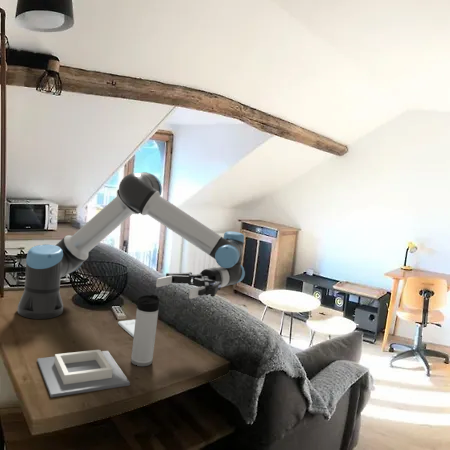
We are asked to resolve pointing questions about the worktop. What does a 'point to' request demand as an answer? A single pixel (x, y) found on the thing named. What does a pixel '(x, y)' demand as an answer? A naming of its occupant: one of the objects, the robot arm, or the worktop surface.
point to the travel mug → (145, 330)
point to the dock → (81, 372)
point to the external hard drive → (128, 326)
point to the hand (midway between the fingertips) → (173, 288)
